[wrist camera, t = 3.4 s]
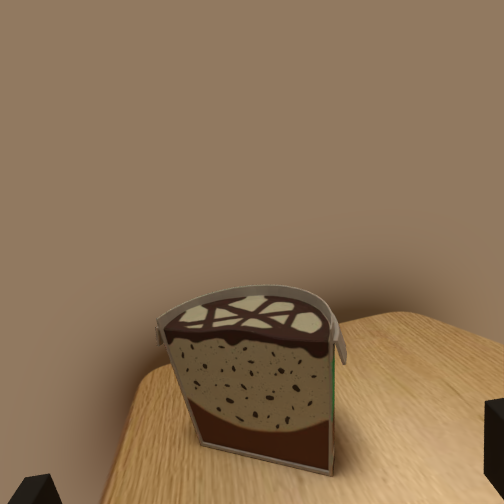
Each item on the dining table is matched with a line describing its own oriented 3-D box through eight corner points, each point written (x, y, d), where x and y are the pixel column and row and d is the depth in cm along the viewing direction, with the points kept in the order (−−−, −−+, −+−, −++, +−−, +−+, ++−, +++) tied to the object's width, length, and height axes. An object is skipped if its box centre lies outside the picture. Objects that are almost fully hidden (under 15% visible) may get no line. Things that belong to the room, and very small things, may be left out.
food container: (369, 407, 26) (358, 281, 23) (358, 482, 20) (341, 329, 17) (222, 386, 31) (199, 281, 28) (183, 441, 25) (149, 318, 23)
